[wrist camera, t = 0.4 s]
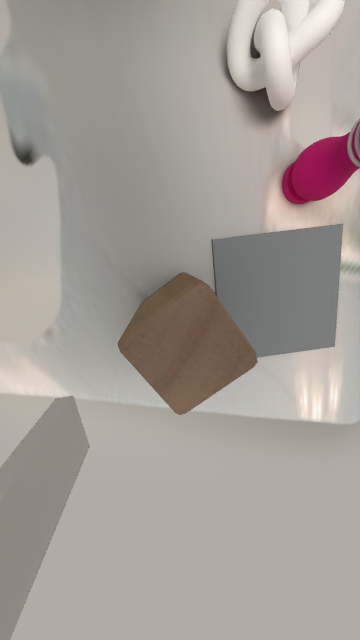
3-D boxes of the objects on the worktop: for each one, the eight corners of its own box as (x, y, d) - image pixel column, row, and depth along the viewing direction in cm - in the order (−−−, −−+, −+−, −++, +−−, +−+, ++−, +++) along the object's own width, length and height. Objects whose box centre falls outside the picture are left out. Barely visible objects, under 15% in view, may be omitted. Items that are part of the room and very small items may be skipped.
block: (216, 315, 40) (265, 364, 20) (172, 346, 41) (179, 423, 21) (184, 269, 37) (204, 276, 18) (138, 304, 38) (110, 347, 19)
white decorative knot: (280, -10, 29) (330, -126, 20) (321, 82, 32) (380, 15, 23) (212, 53, 30) (230, -32, 21) (257, 136, 33) (290, 91, 24)
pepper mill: (273, 166, 34) (415, 40, 15) (318, 149, 34) (520, -2, 15) (284, 214, 36) (422, 157, 17) (326, 198, 36) (515, 121, 16)
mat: (211, 240, 36) (212, 239, 36) (340, 224, 37) (343, 223, 36) (221, 360, 42) (222, 362, 41) (332, 345, 43) (334, 346, 42)
